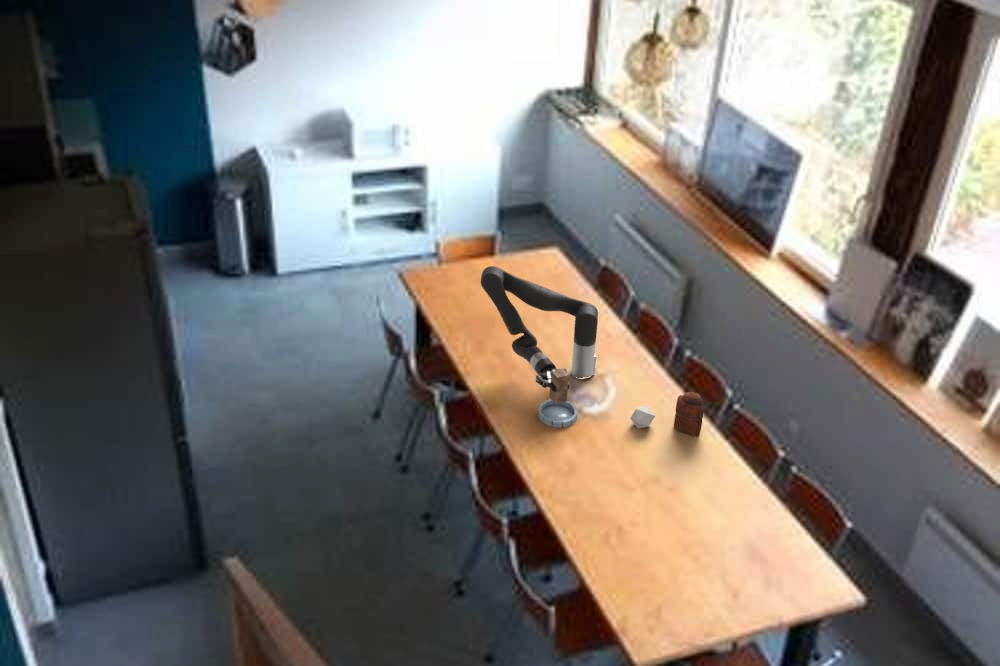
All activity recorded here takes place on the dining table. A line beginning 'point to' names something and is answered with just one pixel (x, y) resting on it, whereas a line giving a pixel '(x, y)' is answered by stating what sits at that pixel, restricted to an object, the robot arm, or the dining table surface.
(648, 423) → the die
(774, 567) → the dining table surface
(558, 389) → the walnut block
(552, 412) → the bowl
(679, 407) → the wooden figurine
